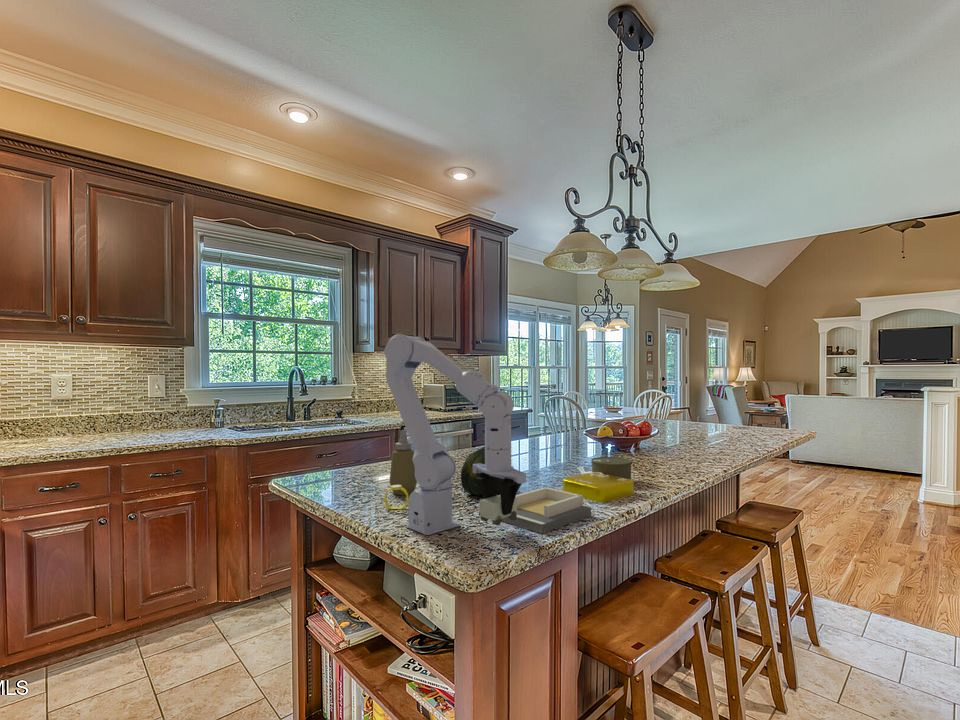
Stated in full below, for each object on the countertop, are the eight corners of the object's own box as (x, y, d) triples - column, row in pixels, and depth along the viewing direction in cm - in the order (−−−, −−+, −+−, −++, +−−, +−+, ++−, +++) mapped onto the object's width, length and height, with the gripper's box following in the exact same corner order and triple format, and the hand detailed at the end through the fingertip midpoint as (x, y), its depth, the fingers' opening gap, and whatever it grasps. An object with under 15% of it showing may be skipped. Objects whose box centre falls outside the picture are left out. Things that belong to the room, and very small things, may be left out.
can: (636, 487, 140) (635, 464, 140) (594, 487, 141) (594, 464, 141) (627, 478, 152) (626, 456, 152) (589, 478, 153) (588, 456, 153)
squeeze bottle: (392, 489, 140) (392, 428, 141) (419, 489, 140) (419, 428, 140) (386, 496, 132) (386, 432, 133) (415, 496, 132) (414, 432, 132)
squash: (444, 472, 137) (468, 437, 131) (482, 467, 147) (506, 434, 141) (468, 513, 129) (494, 477, 122) (506, 505, 139) (532, 471, 132)
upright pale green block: (494, 526, 98) (494, 504, 98) (479, 521, 101) (479, 500, 101) (517, 519, 102) (517, 497, 103) (502, 514, 106) (502, 494, 106)
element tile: (560, 493, 135) (559, 476, 135) (594, 485, 144) (594, 469, 144) (602, 505, 123) (601, 486, 123) (637, 495, 132) (636, 478, 132)
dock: (542, 534, 100) (542, 512, 101) (490, 517, 112) (490, 498, 112) (591, 515, 113) (590, 496, 113) (539, 502, 124) (539, 485, 125)
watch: (384, 512, 119) (382, 488, 119) (386, 508, 122) (384, 485, 122) (408, 509, 119) (406, 486, 119) (409, 506, 122) (407, 483, 122)
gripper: (535, 449, 99) (536, 514, 99) (488, 442, 110) (488, 501, 110) (512, 453, 95) (513, 522, 94) (465, 445, 105) (465, 507, 105)
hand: (498, 511), depth 102 cm, fingers closed on upright pale green block, 4 cm apart
